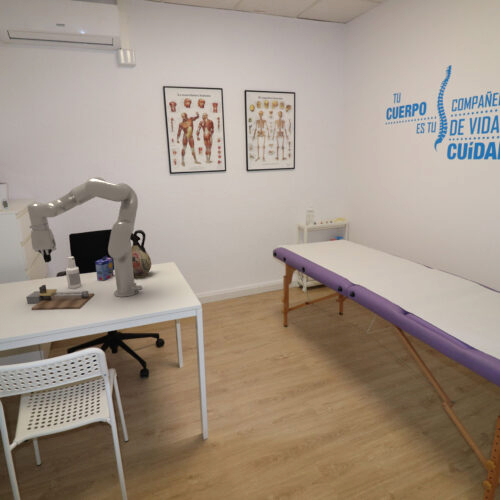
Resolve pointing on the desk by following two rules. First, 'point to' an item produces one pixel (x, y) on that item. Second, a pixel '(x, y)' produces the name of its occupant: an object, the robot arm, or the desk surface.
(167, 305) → the desk surface
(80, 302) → the tong board
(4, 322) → the desk surface
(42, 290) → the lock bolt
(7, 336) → the desk surface
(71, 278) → the spray bottle
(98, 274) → the ink cartridge box
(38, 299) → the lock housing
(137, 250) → the ceramic jug
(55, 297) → the tong arm
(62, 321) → the desk surface
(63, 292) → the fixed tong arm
